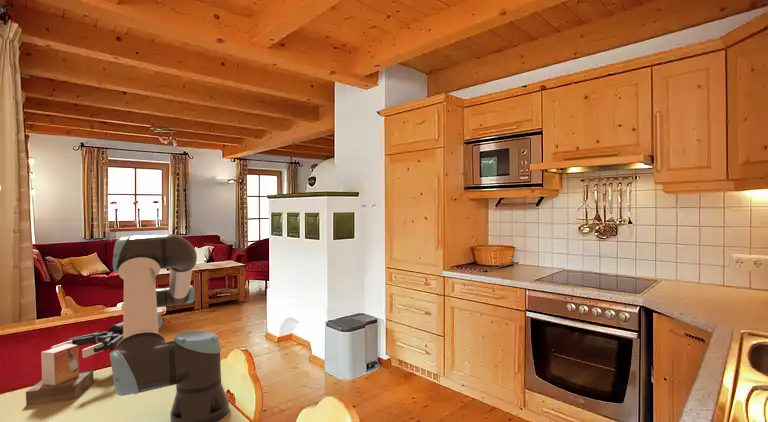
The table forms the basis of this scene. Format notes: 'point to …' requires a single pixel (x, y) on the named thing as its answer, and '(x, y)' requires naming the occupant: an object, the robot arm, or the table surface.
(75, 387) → the walnut riser
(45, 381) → the small box
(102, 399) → the table surface
